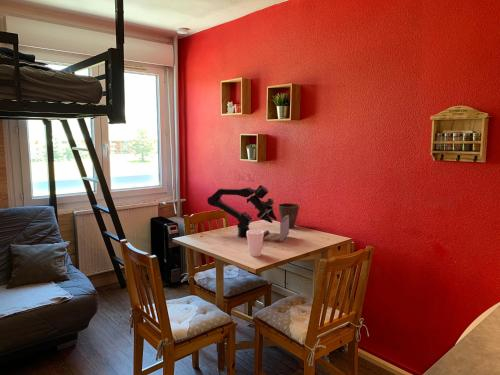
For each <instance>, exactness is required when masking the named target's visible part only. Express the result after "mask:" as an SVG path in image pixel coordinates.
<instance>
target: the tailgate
mask: <svg viewBox="0 0 500 375" xmlns="http://www.w3.org/2000/svg"><path fill="white" fill-rule="evenodd" d="M279 223H280V224H279V225H280V226H279V227H280V228H279V229H280V230H279V231H280V232H279V234H280V240H281V242H282V241H284V240H285V239H286V238H287V237H288V236H289V235H290V228H289V215H286V216H285V217H284V218H283V219H281V218H280V220H279Z"/></svg>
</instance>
